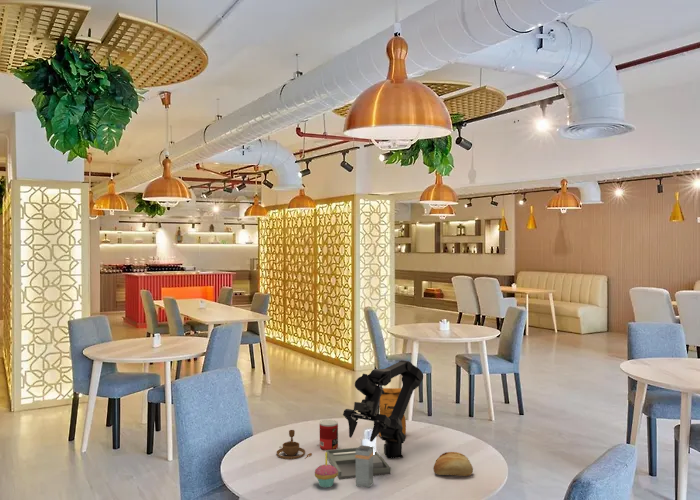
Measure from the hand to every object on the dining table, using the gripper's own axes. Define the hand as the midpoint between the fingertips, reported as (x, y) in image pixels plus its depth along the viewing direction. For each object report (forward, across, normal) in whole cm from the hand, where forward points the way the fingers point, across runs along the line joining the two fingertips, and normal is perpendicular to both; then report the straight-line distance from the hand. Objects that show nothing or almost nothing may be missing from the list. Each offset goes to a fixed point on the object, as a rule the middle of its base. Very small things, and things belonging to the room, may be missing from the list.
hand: (360, 439), depth 226 cm
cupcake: (+20, -6, -4) cm, 21 cm away
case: (+6, -7, +14) cm, 17 cm away
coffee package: (-15, -12, +45) cm, 49 cm away
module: (+15, +6, +2) cm, 16 cm away
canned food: (+1, -27, +22) cm, 35 cm away
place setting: (+7, -37, +13) cm, 40 cm away
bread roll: (+1, +29, +24) cm, 38 cm away
